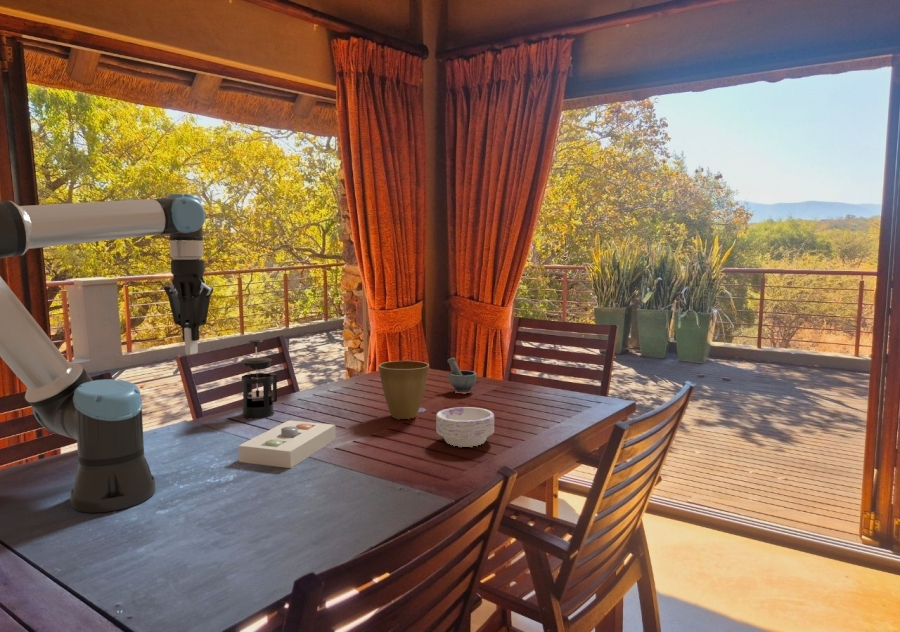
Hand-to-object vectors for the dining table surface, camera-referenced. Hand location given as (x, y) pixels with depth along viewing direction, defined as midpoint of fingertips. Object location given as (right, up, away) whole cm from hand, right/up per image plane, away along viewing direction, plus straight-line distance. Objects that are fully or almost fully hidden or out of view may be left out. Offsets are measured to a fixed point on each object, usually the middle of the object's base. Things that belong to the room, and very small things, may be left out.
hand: (191, 353), depth 150 cm
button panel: (+24, -24, +2) cm, 34 cm away
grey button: (+24, -23, +2) cm, 33 cm away
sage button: (+22, -25, -5) cm, 34 cm away
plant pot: (+51, -21, +32) cm, 64 cm away
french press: (+6, -21, +34) cm, 41 cm away
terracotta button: (+26, -23, +8) cm, 36 cm away
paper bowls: (+68, -24, +8) cm, 73 cm away
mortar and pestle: (+68, -18, +63) cm, 95 cm away
